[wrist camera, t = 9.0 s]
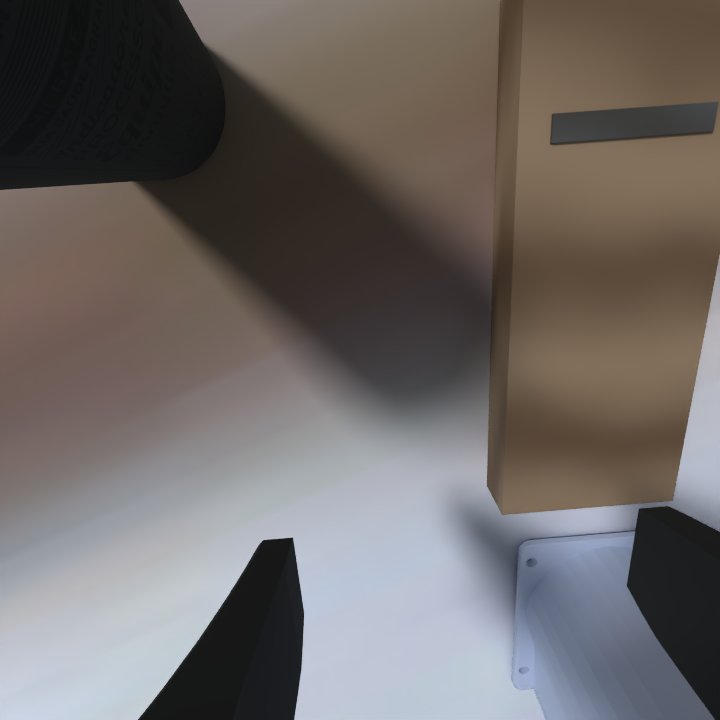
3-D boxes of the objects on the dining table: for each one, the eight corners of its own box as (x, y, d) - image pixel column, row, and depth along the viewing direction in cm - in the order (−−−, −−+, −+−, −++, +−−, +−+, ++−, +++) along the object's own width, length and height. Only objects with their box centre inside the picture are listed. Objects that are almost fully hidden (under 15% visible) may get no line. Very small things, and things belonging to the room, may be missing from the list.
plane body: (641, 472, 20) (674, 502, 18) (487, 485, 20) (503, 516, 18) (718, -14, 14) (780, -51, 12) (499, 1, 14) (526, -34, 12)
